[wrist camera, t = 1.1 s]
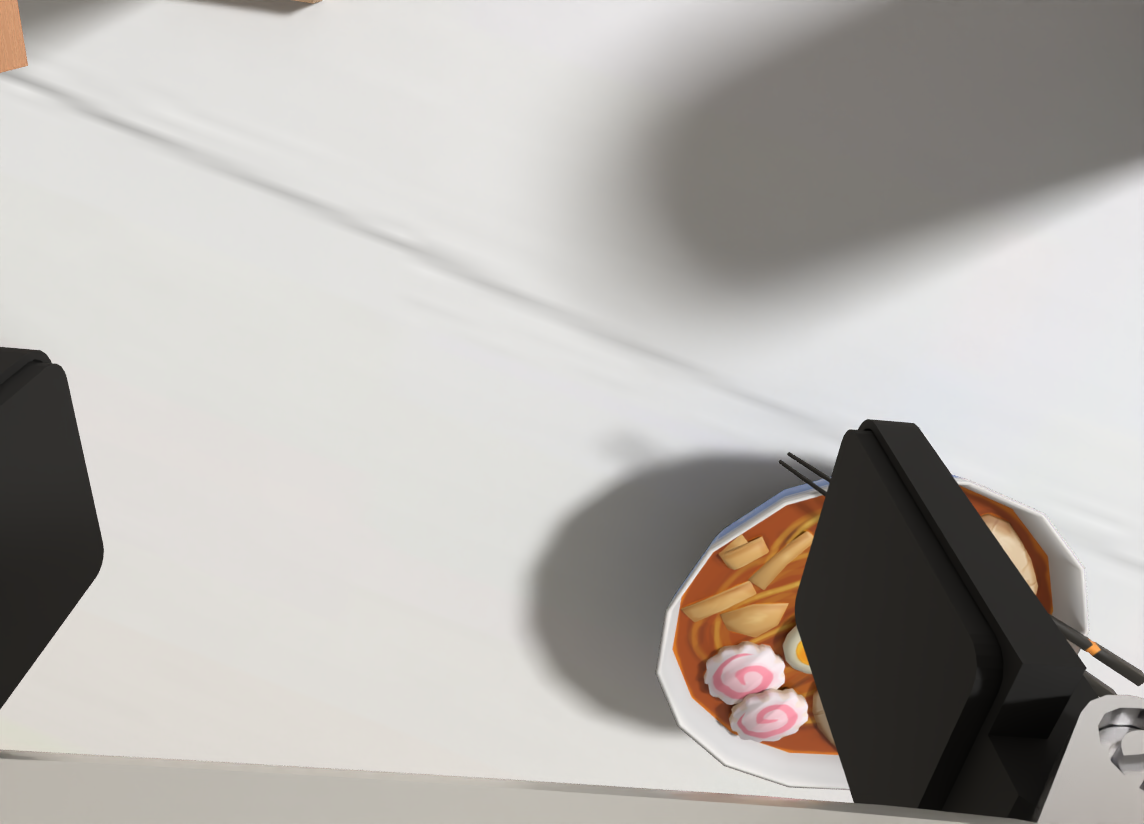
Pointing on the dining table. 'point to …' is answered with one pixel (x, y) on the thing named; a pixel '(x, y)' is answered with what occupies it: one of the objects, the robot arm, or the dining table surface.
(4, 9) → the t key
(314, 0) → the frame
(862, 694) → the robot arm
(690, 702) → the ramen bowl
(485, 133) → the dining table surface
